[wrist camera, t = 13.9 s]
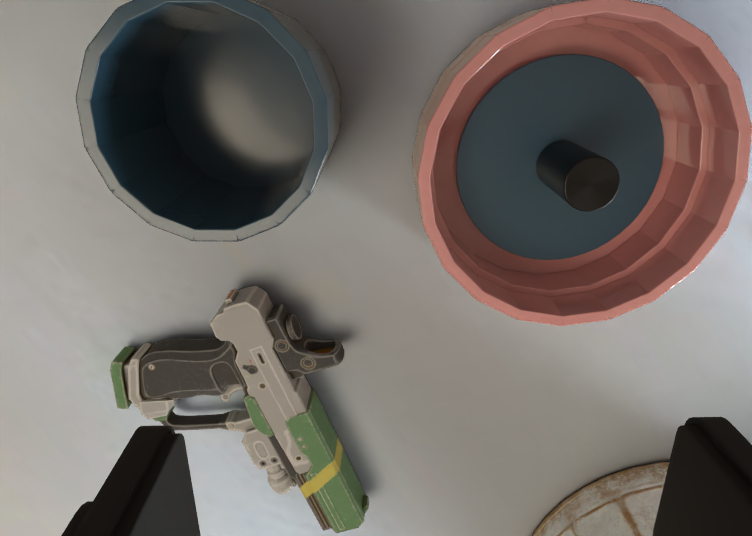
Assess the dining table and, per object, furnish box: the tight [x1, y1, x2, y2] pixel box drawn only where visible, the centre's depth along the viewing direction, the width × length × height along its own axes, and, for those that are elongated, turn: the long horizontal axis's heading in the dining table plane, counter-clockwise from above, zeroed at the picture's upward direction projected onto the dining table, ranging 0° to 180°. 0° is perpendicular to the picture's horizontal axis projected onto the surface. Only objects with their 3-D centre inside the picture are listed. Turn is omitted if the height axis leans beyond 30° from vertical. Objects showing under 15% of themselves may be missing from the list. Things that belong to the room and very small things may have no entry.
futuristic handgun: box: [110, 286, 369, 533], centre depth 37 cm, size 3×19×15 cm
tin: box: [76, 0, 341, 241], centre depth 27 cm, size 10×10×8 cm
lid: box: [456, 54, 664, 260], centre depth 28 cm, size 11×11×6 cm
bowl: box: [412, 0, 752, 326], centre depth 29 cm, size 16×16×6 cm
